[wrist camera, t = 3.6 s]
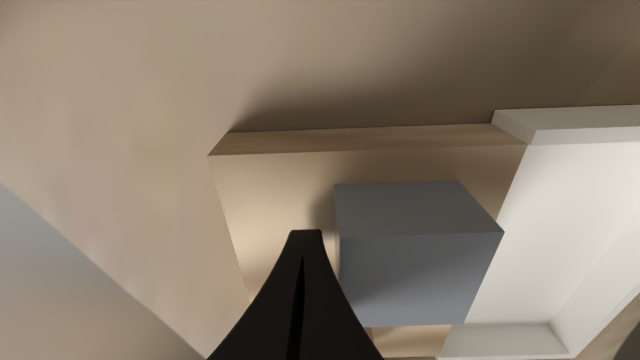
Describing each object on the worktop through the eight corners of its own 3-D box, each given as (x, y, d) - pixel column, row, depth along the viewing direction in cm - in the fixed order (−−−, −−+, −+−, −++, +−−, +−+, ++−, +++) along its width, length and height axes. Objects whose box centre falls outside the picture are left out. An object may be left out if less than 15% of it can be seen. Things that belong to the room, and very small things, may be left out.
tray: (546, 322, 20) (574, 358, 18) (424, 326, 20) (437, 361, 18) (716, 101, 11) (811, 120, 9) (495, 109, 11) (536, 130, 9)
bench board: (426, 321, 20) (438, 356, 18) (272, 326, 20) (267, 360, 18) (490, 122, 12) (528, 144, 10) (226, 132, 12) (207, 156, 10)
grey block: (433, 264, 13) (463, 324, 10) (334, 267, 13) (339, 328, 10) (457, 180, 10) (505, 231, 8) (333, 184, 10) (339, 237, 8)
